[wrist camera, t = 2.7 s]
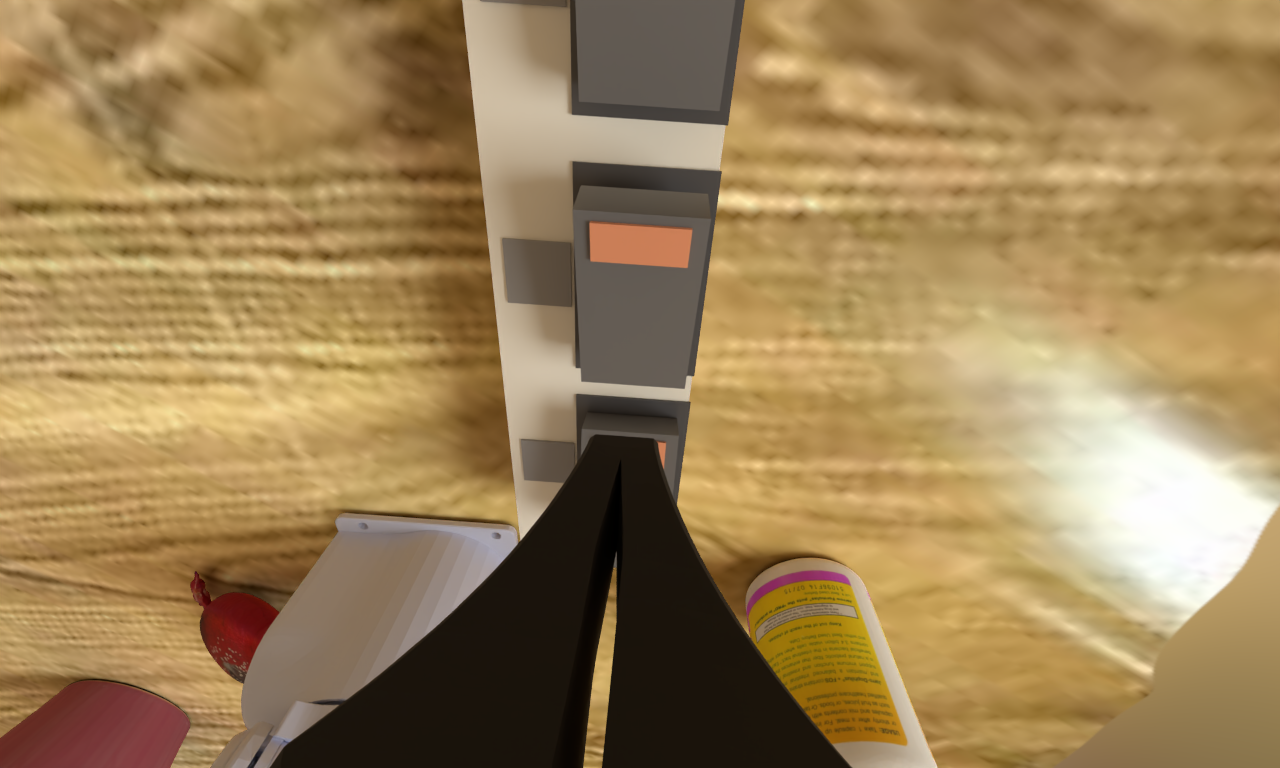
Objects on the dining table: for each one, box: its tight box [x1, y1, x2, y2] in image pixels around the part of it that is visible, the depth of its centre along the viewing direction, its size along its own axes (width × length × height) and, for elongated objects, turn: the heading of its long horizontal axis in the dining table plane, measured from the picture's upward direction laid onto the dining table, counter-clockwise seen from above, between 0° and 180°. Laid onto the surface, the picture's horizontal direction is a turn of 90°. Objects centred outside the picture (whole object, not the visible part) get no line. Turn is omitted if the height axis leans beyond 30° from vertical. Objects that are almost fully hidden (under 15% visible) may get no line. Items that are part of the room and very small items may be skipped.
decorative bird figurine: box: [190, 571, 280, 684], centre depth 30 cm, size 3×18×10 cm
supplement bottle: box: [745, 558, 937, 768], centre depth 22 cm, size 7×7×13 cm
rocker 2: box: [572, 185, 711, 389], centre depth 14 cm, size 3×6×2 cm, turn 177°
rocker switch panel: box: [462, 0, 745, 541], centre depth 16 cm, size 6×25×4 cm, turn 177°
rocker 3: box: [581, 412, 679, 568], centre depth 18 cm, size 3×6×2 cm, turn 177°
